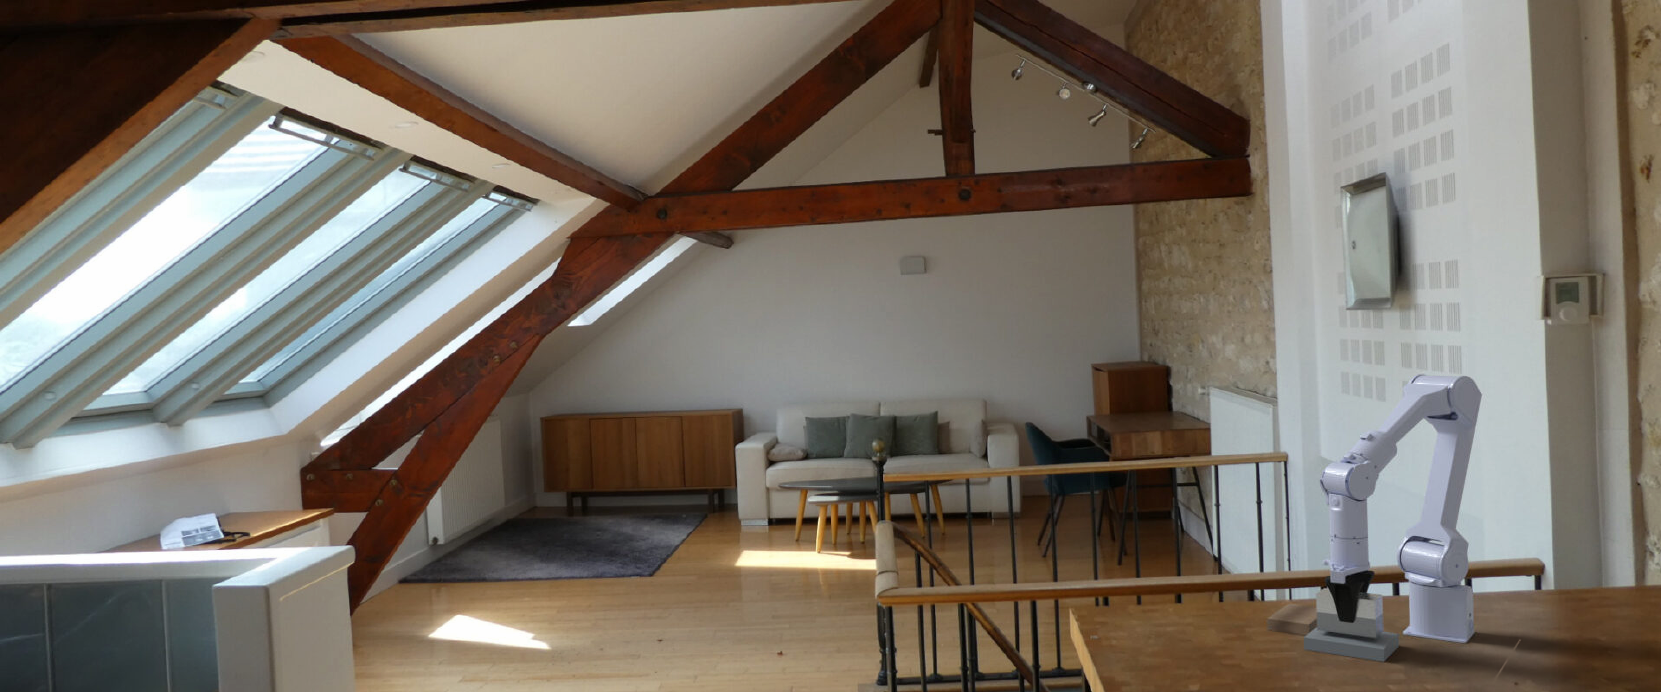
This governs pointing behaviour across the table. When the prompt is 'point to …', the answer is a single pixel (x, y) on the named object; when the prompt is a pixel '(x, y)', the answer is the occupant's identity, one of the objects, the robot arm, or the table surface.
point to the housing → (1365, 618)
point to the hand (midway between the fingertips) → (1350, 618)
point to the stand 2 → (1352, 644)
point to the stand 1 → (1294, 619)
